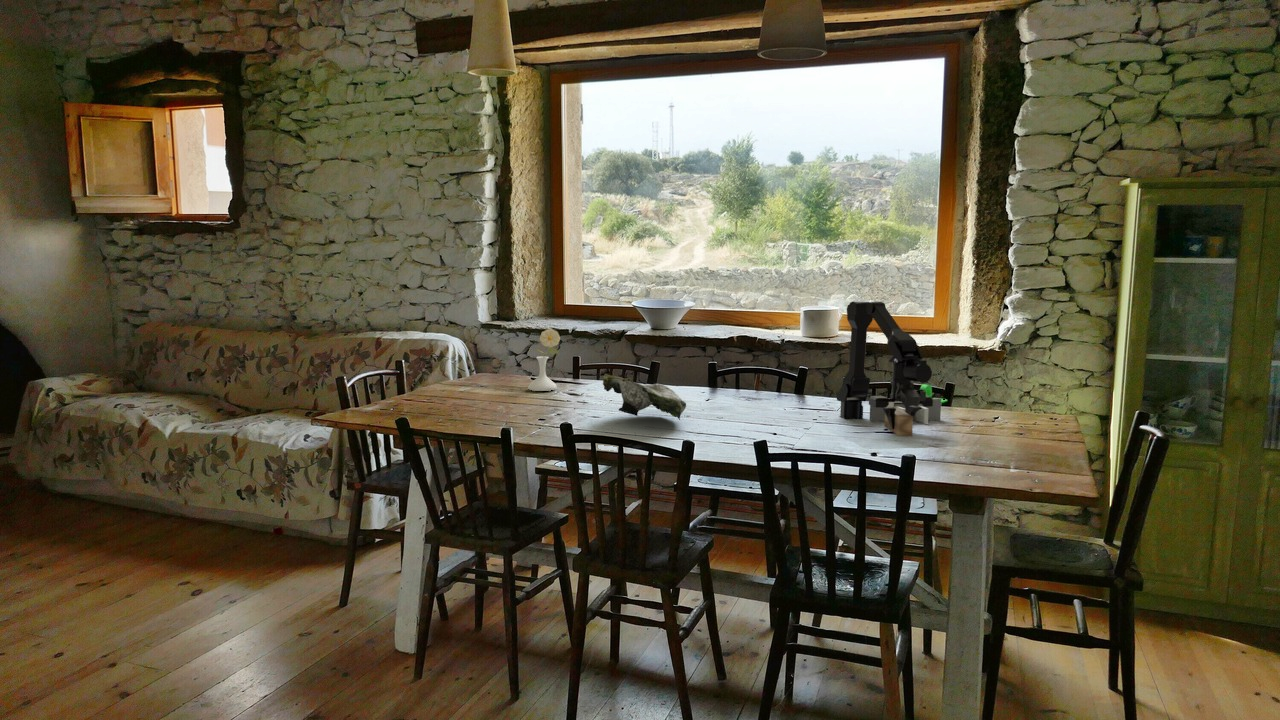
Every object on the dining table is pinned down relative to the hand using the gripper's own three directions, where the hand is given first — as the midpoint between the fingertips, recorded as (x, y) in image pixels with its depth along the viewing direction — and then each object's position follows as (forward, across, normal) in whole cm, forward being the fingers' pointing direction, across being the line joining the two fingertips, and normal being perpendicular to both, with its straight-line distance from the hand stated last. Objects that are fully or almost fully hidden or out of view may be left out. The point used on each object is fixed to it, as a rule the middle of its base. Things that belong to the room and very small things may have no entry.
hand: (899, 428), depth 267 cm
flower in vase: (+1, -104, +95) cm, 141 cm away
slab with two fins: (+1, +11, +16) cm, 19 cm away
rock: (0, -77, +30) cm, 83 cm away
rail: (+1, 0, +2) cm, 2 cm away
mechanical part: (+2, +36, +46) cm, 58 cm away
